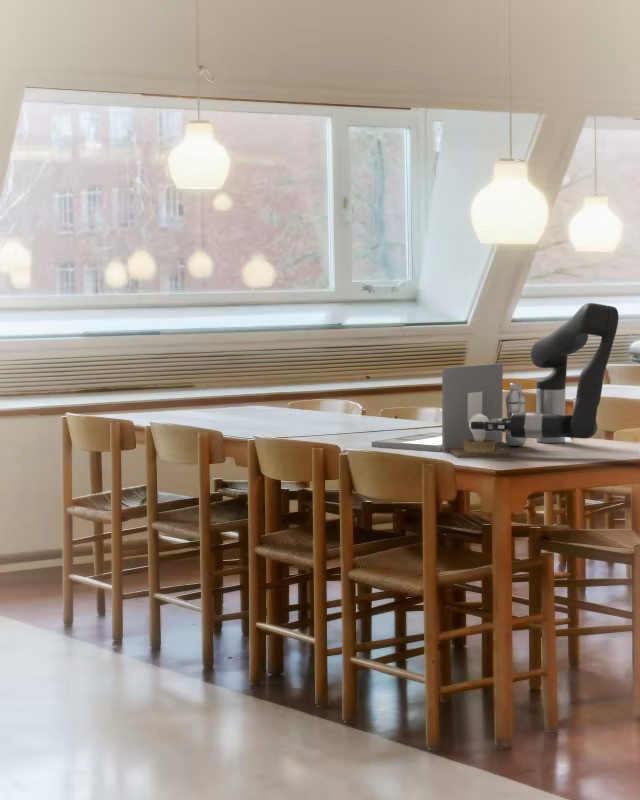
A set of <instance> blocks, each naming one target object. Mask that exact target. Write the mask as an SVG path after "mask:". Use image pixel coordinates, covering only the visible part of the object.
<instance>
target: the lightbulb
mask: <svg viewBox="0 0 640 800" xmlns="http://www.w3.org/2000/svg"><path fill="white" fill-rule="evenodd" d="M485 421H486V422H488V421H489V419H488V418H487V417H486V416H485V415H483V414H476V415H474V416H472V417H471V419H470V420H469V429H470V431H471V432H472V434H473V437H474V440H475V442H484V439H485V435H486V433H487V432H488V431H484V429H471V422H485ZM489 428H490V424H489Z"/></svg>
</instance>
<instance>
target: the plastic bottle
mask: <svg viewBox="0 0 640 800" xmlns="http://www.w3.org/2000/svg"><path fill="white" fill-rule="evenodd" d="M522 386H523V385H522V383H521V382H510V384H509V389H510V391H509V393H508V394H507V396H506V398H505V406H506V407H505V408H506V416H507V417H506V419H509V418H511V415H512V413H514V412H520V413H526V412H525V411H526V405H527V399H526V396H525V394H524V393H523V391H522V389H523V387H522ZM526 441H527V438H513V437H512V436H511V430H509V429H508V430H506V431H505V443H506V445H507V446H509V447H513V446H515V448H517V447H516V446H518V447H523V446H524V445H525V444H526Z"/></svg>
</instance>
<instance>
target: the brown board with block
mask: <svg viewBox="0 0 640 800" xmlns="http://www.w3.org/2000/svg"><path fill="white" fill-rule="evenodd" d="M450 452H451V454H452V455H453V456H454V455H455V456H454V457H456V458H457V457H462V458H511V457H512V453H511V452H510V451H507V449H504V448H502V447H496V443H495V441H494V440H488V439H484V442H475V440H474V439H470V440H464V448H449V452H448V453H450Z"/></svg>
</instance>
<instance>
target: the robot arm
mask: <svg viewBox="0 0 640 800" xmlns="http://www.w3.org/2000/svg"><path fill="white" fill-rule="evenodd" d="M618 326H619V312H618V309H617V308H616V307H615V306H611V305H606V304H600V303H594V302H589V303H584V305H582V306H581V307H580V308H579V309H578V311H576V312H575V314H574V315H573V316H572V317H571V318H569V320H567V321H566V322H564V323H563V324H562V325H560V326H559V327H557V328H556V329H555V330H554V331H553V332H551V333H550V334H548V335H546V336H545V337H543V338H540V339H538V340H536V341H535V342H534V344H532V345H533V346H532V347H531V350H530V358H531V359H530V360H531V362H532V363H533V365H534V366H536V368H539V369H552V371H551V372H550V374H548V375H546V376H544V377H542V378H539V379H537V380H536V406H535V407H536V408H535V409H536V412H525V413H520V412H514V413H512V415H511V418H509V419H507V417H502V418H493V419H492V418H491V419H489V421H488V422H486V421H485V422H471V429H484V431H499V432H502V433H506V432H507V430H508V429H509V430H511V436H512V437H513V438H526V439H536V440H535V441H536V442H537V443H547V444H554V443H555V444H557V443H559V444H561V443H565V442H566V438H569V439H570V438H571V439H572V438H573V439H589V438H592V437H593V436H595V434H596V433H597V431H598V423H597V414H598V407H599V405H600V403H601V399H602V390H603V385H604V383H603V382H604V379H605V373H606V371H607V366H608V363H609V359H610V355H611V352H612V349H613V345H614V342H615V338H616V334H617V330H618ZM590 335H591V336H597V337H601V339H600V344H599V346H598V349H597V350H596V352H595V353H594V355H593V356H592V358H591V359H590V360H589V361H588V362H587V364H586V365H585V366H584V368H583V369H582V370H581V371H580V374H579V377H578V382H577V388H576V389H577V390H576V397H575V404H574V409H573V411H572V414H571V415H570V414H567V415H566V383H567V369H568V356H569V355H572V354H575V353H576V352H578V351H579V350H581V349H583V347H585V345H586V344H587V342H588V339H589V336H590ZM489 424H490V428H489Z"/></svg>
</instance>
